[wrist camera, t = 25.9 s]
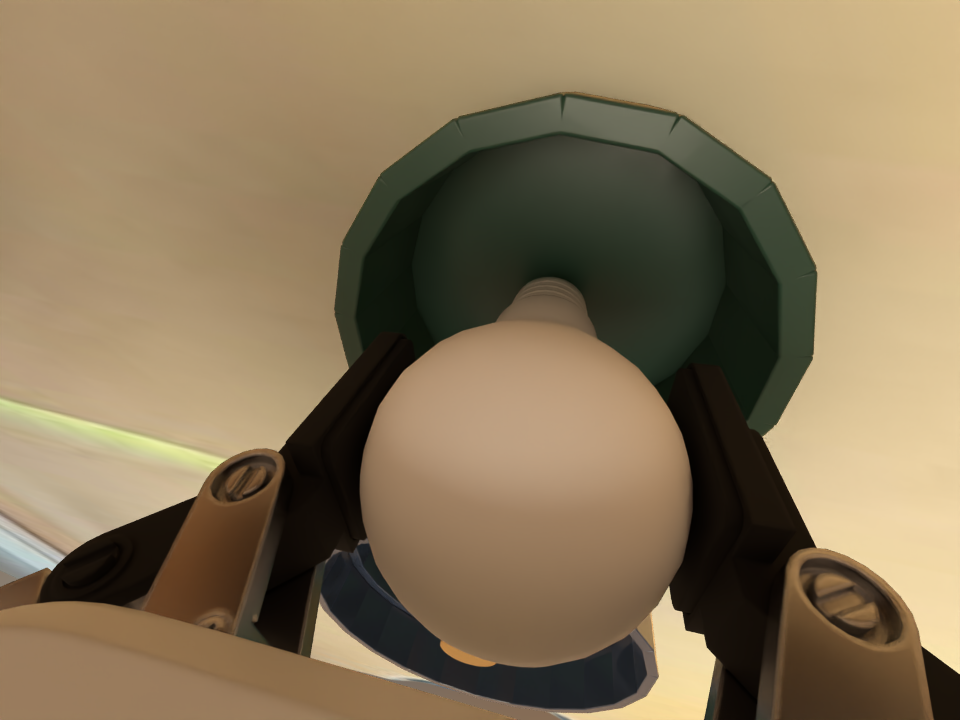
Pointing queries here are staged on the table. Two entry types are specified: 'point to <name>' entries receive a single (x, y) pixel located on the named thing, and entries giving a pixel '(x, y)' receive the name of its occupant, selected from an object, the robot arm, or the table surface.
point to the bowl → (408, 644)
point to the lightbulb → (527, 486)
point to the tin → (589, 243)
